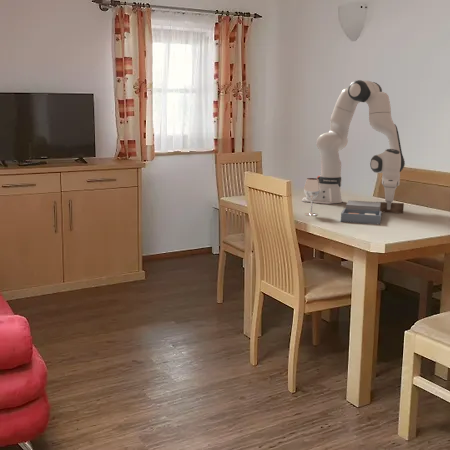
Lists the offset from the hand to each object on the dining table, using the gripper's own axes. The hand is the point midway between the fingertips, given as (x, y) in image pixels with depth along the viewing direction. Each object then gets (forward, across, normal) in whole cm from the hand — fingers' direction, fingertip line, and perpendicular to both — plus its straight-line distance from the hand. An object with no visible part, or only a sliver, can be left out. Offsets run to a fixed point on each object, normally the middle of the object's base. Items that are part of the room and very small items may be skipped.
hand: (388, 207), depth 314 cm
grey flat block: (+2, +14, -12) cm, 19 cm away
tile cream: (-1, +27, -8) cm, 29 cm away
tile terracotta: (-1, +29, -16) cm, 33 cm away
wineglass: (+2, +21, -37) cm, 43 cm away
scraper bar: (+2, 0, 0) cm, 2 cm away
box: (+2, +28, -12) cm, 30 cm away
